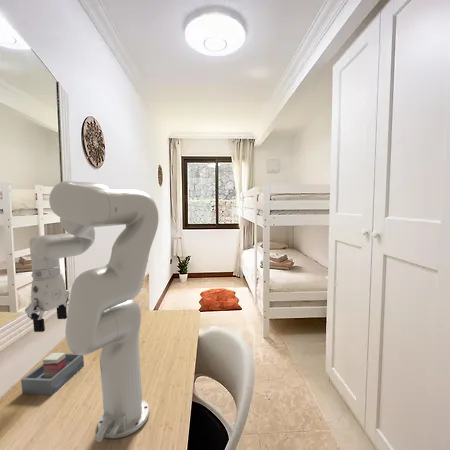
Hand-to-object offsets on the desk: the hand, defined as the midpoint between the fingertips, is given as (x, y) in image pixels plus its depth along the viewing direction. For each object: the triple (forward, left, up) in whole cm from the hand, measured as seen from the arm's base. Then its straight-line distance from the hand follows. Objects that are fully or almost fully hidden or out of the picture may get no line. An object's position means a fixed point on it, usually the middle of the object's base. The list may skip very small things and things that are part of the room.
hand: (51, 324), depth 87 cm
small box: (0, 0, -19) cm, 19 cm away
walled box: (0, 0, -19) cm, 19 cm away
